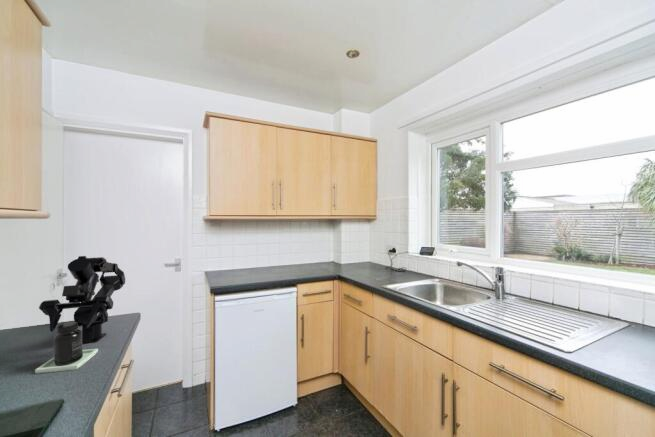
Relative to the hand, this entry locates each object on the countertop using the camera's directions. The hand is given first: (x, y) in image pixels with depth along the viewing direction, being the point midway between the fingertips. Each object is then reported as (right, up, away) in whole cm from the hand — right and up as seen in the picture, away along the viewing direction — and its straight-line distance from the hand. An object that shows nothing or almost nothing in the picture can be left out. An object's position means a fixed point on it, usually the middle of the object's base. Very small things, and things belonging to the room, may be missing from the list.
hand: (69, 329), depth 89 cm
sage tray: (0, -11, -1) cm, 11 cm away
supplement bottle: (0, -10, 0) cm, 10 cm away
